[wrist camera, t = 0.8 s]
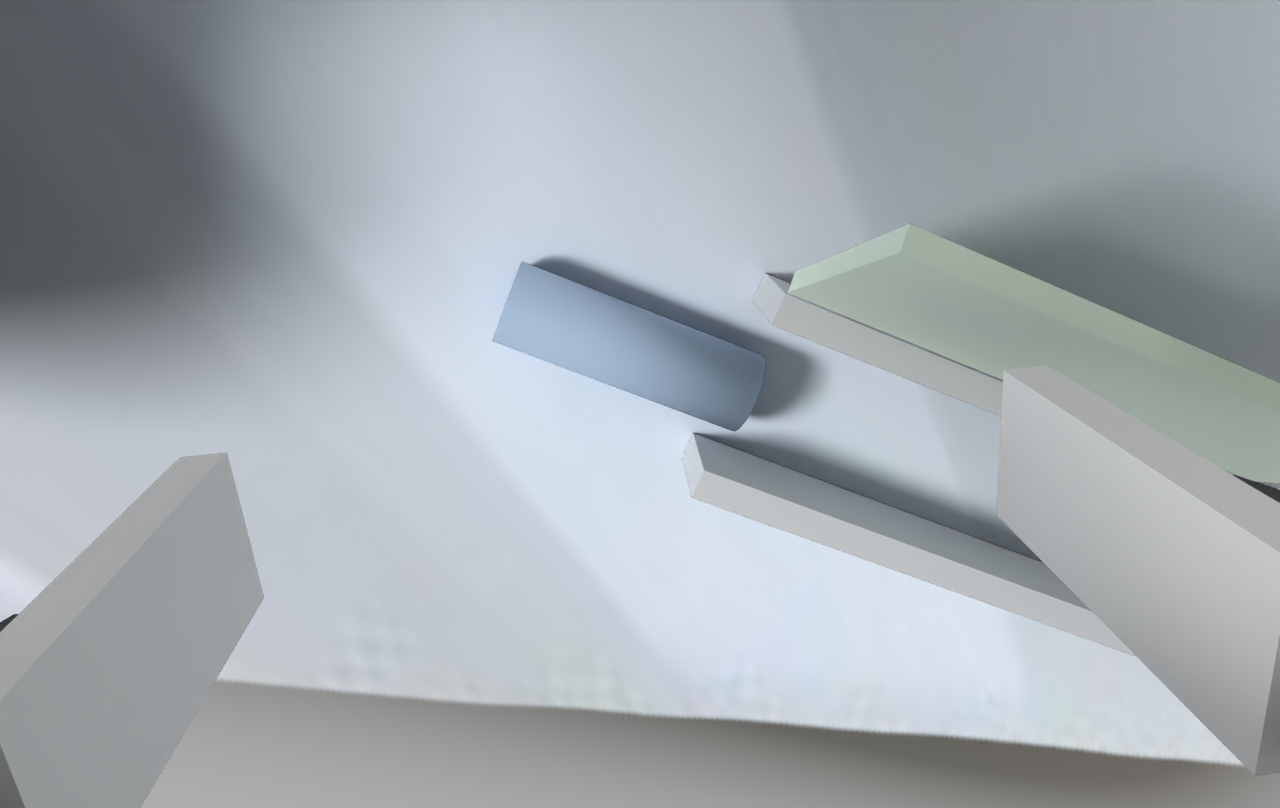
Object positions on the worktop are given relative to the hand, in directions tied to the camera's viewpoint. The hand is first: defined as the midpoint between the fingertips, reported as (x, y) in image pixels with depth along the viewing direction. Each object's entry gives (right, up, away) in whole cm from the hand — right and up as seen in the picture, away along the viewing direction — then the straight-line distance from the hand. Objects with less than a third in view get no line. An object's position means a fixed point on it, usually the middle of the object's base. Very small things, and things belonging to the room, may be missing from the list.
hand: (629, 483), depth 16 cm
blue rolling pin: (0, +4, +21) cm, 22 cm away
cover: (+15, +2, +14) cm, 21 cm away
